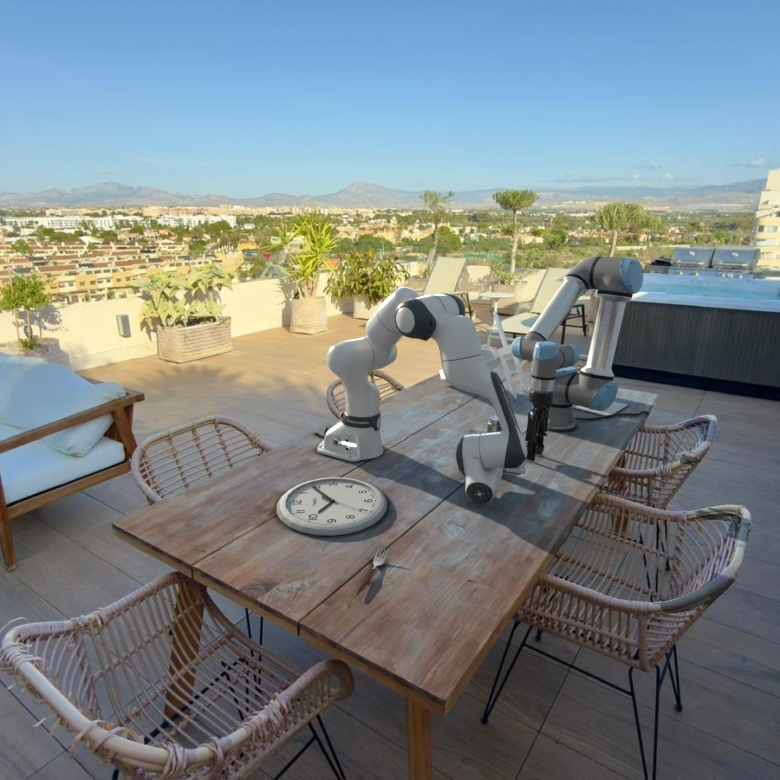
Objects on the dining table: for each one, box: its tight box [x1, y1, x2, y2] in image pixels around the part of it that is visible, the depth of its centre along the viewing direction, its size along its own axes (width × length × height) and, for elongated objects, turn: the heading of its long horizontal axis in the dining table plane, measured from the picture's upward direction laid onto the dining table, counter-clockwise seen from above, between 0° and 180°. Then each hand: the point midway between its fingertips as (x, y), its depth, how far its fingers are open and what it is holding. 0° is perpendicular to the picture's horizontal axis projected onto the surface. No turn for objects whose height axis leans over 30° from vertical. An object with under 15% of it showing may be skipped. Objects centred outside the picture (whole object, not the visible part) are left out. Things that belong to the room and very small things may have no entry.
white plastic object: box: [438, 310, 530, 400], centre depth 245 cm, size 37×45×31 cm
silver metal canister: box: [486, 415, 502, 433], centre depth 162 cm, size 5×5×18 cm
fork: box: [356, 545, 389, 596], centre depth 114 cm, size 3×16×2 cm, turn 160°
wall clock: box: [276, 476, 388, 537], centre depth 142 cm, size 30×2×30 cm
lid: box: [526, 441, 545, 453], centre depth 173 cm, size 6×6×2 cm
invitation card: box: [573, 400, 629, 416], centre depth 226 cm, size 21×1×15 cm
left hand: (494, 450), depth 163 cm, fingers closed on silver metal canister, 5 cm apart
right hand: (534, 456), depth 174 cm, fingers closed on lid, 6 cm apart
